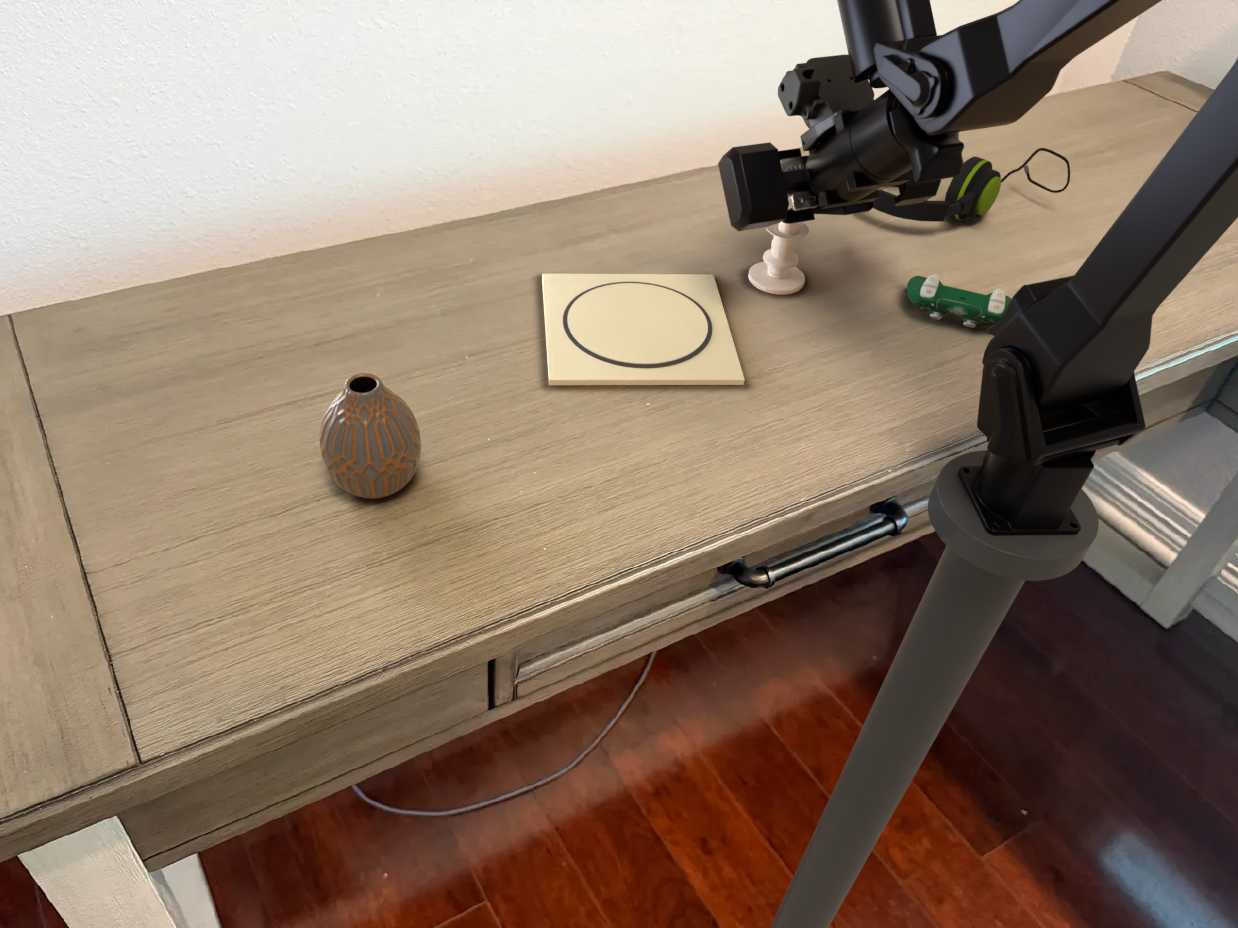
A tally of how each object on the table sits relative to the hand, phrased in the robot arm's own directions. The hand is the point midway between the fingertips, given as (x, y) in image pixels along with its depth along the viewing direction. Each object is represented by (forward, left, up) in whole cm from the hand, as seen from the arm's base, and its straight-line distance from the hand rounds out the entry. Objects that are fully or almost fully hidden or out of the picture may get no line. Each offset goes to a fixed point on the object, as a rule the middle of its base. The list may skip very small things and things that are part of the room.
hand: (782, 208), depth 88 cm
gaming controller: (-7, -15, -7) cm, 18 cm away
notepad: (-9, +14, -7) cm, 18 cm away
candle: (-1, 0, -7) cm, 7 cm away
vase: (-28, +35, -7) cm, 45 cm away
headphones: (+14, -20, -7) cm, 25 cm away
